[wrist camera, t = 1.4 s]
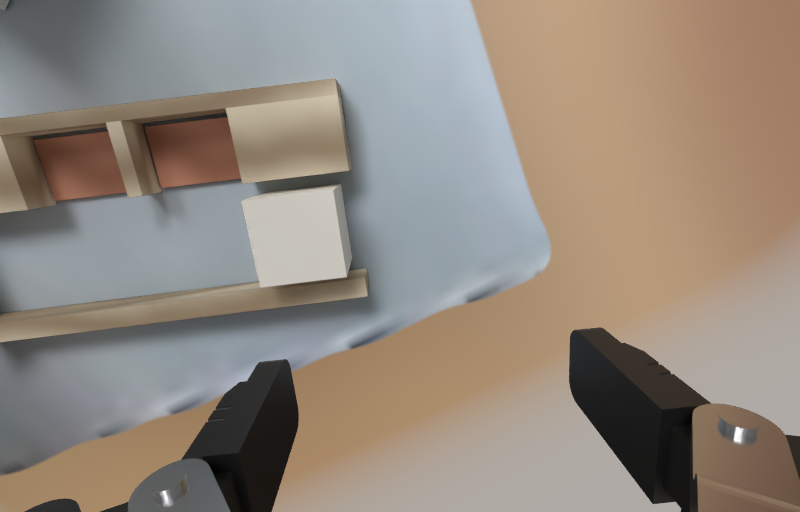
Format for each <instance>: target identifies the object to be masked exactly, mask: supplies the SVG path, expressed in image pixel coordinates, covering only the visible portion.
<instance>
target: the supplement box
mask: <svg viewBox="0 0 800 512" xmlns="http://www.w3.org/2000/svg"><path fill="white" fill-rule="evenodd" d="M9 1H10V0H0V9H2V10H6V7H7V5H8V3H9Z"/></svg>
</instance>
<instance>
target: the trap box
mask: <svg viewBox="0 0 800 512" xmlns="http://www.w3.org/2000/svg"><path fill="white" fill-rule="evenodd" d="M223 113H227V117H223V118H214V119H206V120H198V121H189V122H181V123H173V124H164V125H156V126H148V127H145V129H144V125H143V123H148V122H157V121H165V120H173V119H181V118H190V117H198V116H206V115H215V114H223ZM98 128H107V129H108V131H106V132H98V133H90V134H81V135H73V136H65V137H57V138H48V139H40V140H34V138H33V136H40V135H49V134H57V133H65V132H74V131H82V130H90V129H98ZM145 131H146V132H145ZM146 134H147V136H146ZM147 138H148V139H147ZM148 141H149V143H148ZM149 145H150V147H149ZM150 149H151V150H150ZM151 152H152V154H151ZM152 156H153V157H152ZM153 159H154V161H153ZM154 163H155V165H154ZM155 166H156V168H155ZM351 169H352V168H351V161H350V154H349V147H348V141H347V134H346V127H345V120H344V113H343V106H342V100H341V93H340V86H339V83H338V82H337V80H336V79H326V80H318V81H310V82H301V83H293V84H285V85H276V86H268V87H260V88H251V89H243V90H235V91H226V92H218V93H210V94H201V95H193V96H185V97H176V98H168V99H160V100H151V101H143V102H135V103H126V104H118V105H110V106H101V107H93V108H85V109H76V110H68V111H60V112H51V113H43V114H35V115H26V116H18V117H10V118H1V119H0V213H6V212H14V211H23V210H30V209H36V208H42V207H48V206H53V205H57V203H56V201H60V200H68V199H77V198H85V197H93V196H101V195H109V194H118V193H126V192H127V195H128V198H129V197H137V196H144V195H150V194H155V193H160V192H162V190H161V188H167V187H175V186H183V185H192V184H200V183H208V182H216V181H224V180H233V179H241V180H242V184H244V183H252V182H260V181H269V180H277V179H285V178H293V177H302V176H310V175H318V174H326V173H334V172H343V171H349V170H351ZM156 170H157V172H156ZM157 174H158V175H157ZM158 177H159V179H158ZM159 181H160V182H159ZM160 184H161V186H160ZM368 288H369V283H368V277H367V270H366V268H365V269H357V270H349V271H348V275H347V277H344V278H336V279H328V280H319V281H311V282H303V283H294V284H286V285H278V286H269V287H261V288H260V283H259V282H252V283H244V284H236V285H228V286H220V287H212V288H204V289H196V290H188V291H180V292H171V293H163V294H155V295H147V296H139V297H131V298H123V299H115V300H107V301H99V302H91V303H83V304H75V305H67V306H58V307H50V308H42V309H34V310H26V311H18V312H10V313H2V314H0V342H6V341H14V340H22V339H30V338H39V337H47V336H55V335H63V334H71V333H79V332H87V331H95V330H103V329H111V328H119V327H127V326H135V325H143V324H151V323H159V322H167V321H175V320H183V319H191V318H199V317H207V316H215V315H223V314H231V313H239V312H247V311H256V310H264V309H272V308H280V307H288V306H296V305H304V304H312V303H320V302H328V301H336V300H344V299H352V298H360V297H368Z"/></svg>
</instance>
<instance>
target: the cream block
mask: <svg viewBox="0 0 800 512" xmlns="http://www.w3.org/2000/svg"><path fill="white" fill-rule="evenodd" d="M241 202H242V207H243V211H244V216H245V220H246V225H247V229H248V234H249V238H250V243H251V247H252V252H253V256H254V261H255V265H256V270H257V274H258V279H259V283H260V288H261V287H269V286H278V285H286V284H294V283H303V282H311V281H319V280H328V279H336V278H344V277H347V275H348V271H349V268H350V264H351V261H352V253H351V247H350V240H349V233H348V227H347V220H346V214H345V207H344V200H343V194H342V187H341V184H335V185H327V186H318V187H310V188H301V189H293V190H284V191H276V192H267V193H262V194H259V195H257V196H254V197H251V198H248V199H246V200H243V201H241Z"/></svg>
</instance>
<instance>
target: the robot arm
mask: <svg viewBox="0 0 800 512" xmlns="http://www.w3.org/2000/svg"><path fill="white" fill-rule="evenodd" d="M569 366H570V367H569V383H570V388H571V392H572V395H573V397H574V400H575V402H576V403H577V404H578V406H579V407H580V408H581V410H582V411H583V412H584V414H585V415H586V416H587V418H588V419H589V420H590V422H591V423H592V424H593V426H594V427H595V428H596V429H597V431H598V432H599V433H600V435H601V436H602V437H603V439H604V440H605V441H606V443H607V444H608V445H609V447H610V448H611V449H612V450H613V452H614V453H615V455H616V456H617V457H618V459H619V460H620V461H621V462H622V464H623V465H624V466H625V468H626V469H627V470H628V472H629V473H630V474H631V476H632V477H633V478H634V479H635V481H636V482H637V484H638V485H639V486H640V488H641V489H642V490H643V492H644V493H645V494H646V496H647V497H648V498H649V499H650V501H651V502H652V503H653V504H657V503H667V502H677V504H678V505H679V506H680V507H681V512H800V436H791V435H785V434H784V433H783V431H782V430H781V429H780V428H779V427H778V426H776V425H775V424H774V423H772V422H771V421H769V420H768V419H766V418H764V417H762V416H760V415H758V414H756V413H753V412H751V411H749V410H746V409H743V408H739V407H736V406H731V405H726V404H711V403H710V402H709V401H707V400H706V399H705V398H703V397H702V396H701V395H700V394H698V393H697V392H696V391H695V390H693V389H692V388H691V387H689V386H688V385H687V384H685V383H684V382H683V381H682V380H680V379H679V378H678V377H676V376H675V375H674V374H672V375H671V373H670V371H669V370H667V369H666V368H665V367H664V366H662V365H659V364H658V362H657V361H656V360H655V359H653V358H652V357H650V356H649V355H648V354H647V353H645V352H644V351H642V350H639V349H637V348H635V347H633V346H631V345H628V344H626V343H621V342H619V341H618V340H617V339H615V338H614V337H613V336H612V335H611V334H609V333H608V332H607V331H606V330H605V329H603V328H591V329H581V330H574V331H573V332H572V333H571V336H570V365H569ZM298 419H299V418H298V405H297V400H296V395H295V389H294V385H293V379H292V373H291V368H290V364H289V362H288V360H286V359H284V360H275V361H265V362H259V363H258V364H257V366H256V367H255V369H254V371H253V372H252V374H251V376H250V377H249V379H248V381H246V382H239V383H238V384H237V385H236V386H234V387H233V388H232V389H231V390H229V391H228V392H227V393H226V394H225V395H224V396H223V398H222V399H221V401H220V402H219V404H218V405H217V407H216V410H214V411H213V413H212V414H211V416H210V417H209V419H208V422H206V423H205V425H204V426H203V428H202V429H201V431H200V432H199V434H198V435H197V437H196V438H195V440H194V441H193V443H192V444H191V446H190V447H189V449H188V450H187V452H186V453H185V455H184V457H183V458H182V459H181V460H179V461H176V462H173V463H171V464H168V465H166V466H164V467H162V468H161V469H159V470H157V471H155V472H154V473H152V474H151V475H150V476H148V477H147V478H146V479H145V480H144V481H143V482H141V483H140V484H139V486H138V487H137V488H136V489H135V490H134V492H133V493H132V495H131V497H130V499H129V502H127V503H124V504H121V505H118V506H115V507H113V508H110V509H107V510H104V511H101V512H272V508H273V505H274V502H275V499H276V496H277V493H278V490H279V486H280V483H281V480H282V477H283V474H284V471H285V467H286V464H287V461H288V457H289V455H290V452H291V449H292V445H293V442H294V439H295V436H296V432H297V428H298ZM25 512H81V510H80V508H79V505H78V504H77V502H76V501H74V500H71V499H57V500H52V501H49V502H46V503H43V504H40V505H38V506H35V507H33V508H31V509H29V510H27V511H25Z"/></svg>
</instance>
